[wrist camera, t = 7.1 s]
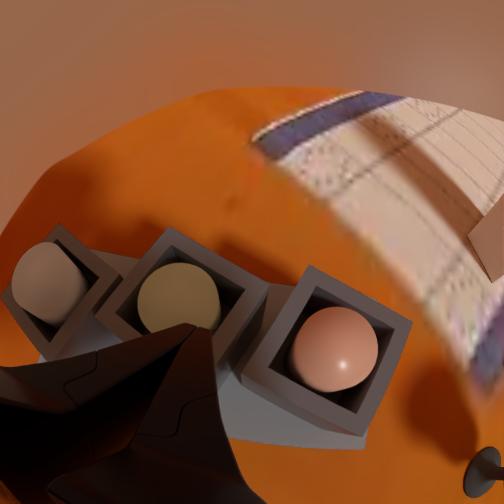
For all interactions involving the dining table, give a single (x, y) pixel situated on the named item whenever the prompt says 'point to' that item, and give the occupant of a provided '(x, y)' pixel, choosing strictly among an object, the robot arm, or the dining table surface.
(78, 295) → the white rounded dome
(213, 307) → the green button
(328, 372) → the salmon orange ball
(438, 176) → the dining table surface
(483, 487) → the sundae
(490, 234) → the milk
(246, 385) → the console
